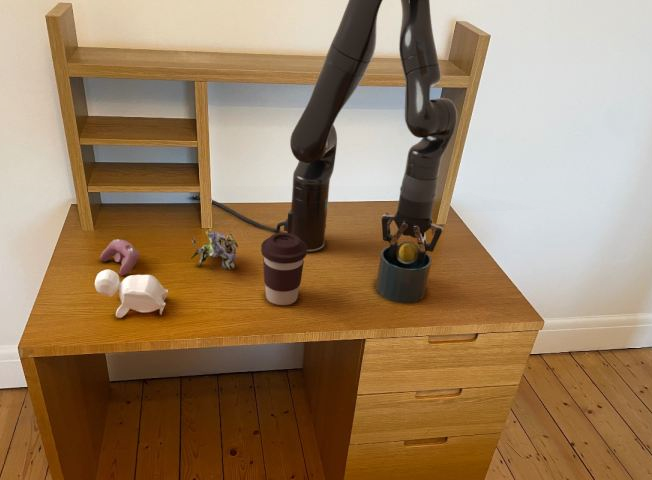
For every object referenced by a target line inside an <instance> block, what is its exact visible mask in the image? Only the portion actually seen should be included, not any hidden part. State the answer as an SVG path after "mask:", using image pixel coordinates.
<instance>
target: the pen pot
mask: <svg viewBox="0 0 652 480" xmlns="http://www.w3.org/2000/svg"><path fill="white" fill-rule="evenodd" d="M400 244H401V243H398V245H397V247H398V246H399V245H400ZM389 249H390V245H388V246H386V247H384V248H383V249H382V251H381V252H380V256H379V262H378V267H377V268H378V269H377V275H376V282H375V288H376V291H377V293H378V294H379V295H380V296H382V297H383V298H385V299H387V300H388V301H392V302H395V303H401V304H412V303H416V302H418V301H421V300H422V299H423V298H424V296H425V293H426V289H427V286H428V280H429V276H430V271H431V266H432V257H431V255H430V254H429V253H428V251H426V253H425V258H424V261H423V263H422V264H420V265H416V263H417V261H416V262H415V263H413V264H410V265H405V264H402V263H400V262H399V261H398V259H397V257H396V256H395V258H394V260H393V259H391V256H389ZM419 250H420V249H419Z"/></svg>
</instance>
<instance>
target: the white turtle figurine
mask: <svg viewBox="0 0 652 480" xmlns="http://www.w3.org/2000/svg"><path fill="white" fill-rule="evenodd" d="M119 275H120V274H119V273H117V272H115V271H114V270H112V269H109V268H108V269H104V270H101V271H100V272H99V273H97V274H96V277H95V280H94V287H95V290H96V292H97V293H98V294H100V295H104V296H107V297H110V298H111V297H113V296H114V295H115V294H116V293H117V292H118V298H119V300H120V302H121V304H120V305H119V307H117V309H116V312H115V318H118V319H121V318H123V317H124V316H126V314H128V312H129V311H130V310H133V311H136V312H139V313H152V312H155V311H157V310H159V315H162V314H163V311H164V308H165V306H166V302H165V300H166V297H167V296H168V293H169V290H168V288H167V289H166V288H164V286H163V285H162V284H161V283H160V281H159V280H158V279H157V277H156V276H154V275H152V274H132V275H128V276H126V277H125V278H123V280H122V281H120V276H119Z"/></svg>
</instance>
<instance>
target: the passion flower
mask: <svg viewBox="0 0 652 480" xmlns="http://www.w3.org/2000/svg"><path fill="white" fill-rule="evenodd" d="M205 235H206V236H207V238H208V240H209V243H208V244H207V243H206V242H205V243H203V245H202V246H201V248H198V246H197V245H196V238H195V237H193V238H191V243H192V244H193V246H194V247H195V248H196V250H195V252H194V253H193V254H192V255H191V256H190V259H194V258H195V257H196V256H198V255H199V254H200V256H199V257H200V258H199V264H198V267H200V266H201V265H202V263H204V262H206V261H207V258H213V259H215V258H219V257H220V259H221V261H222V262H221V264H222V268H223V269H224V270H227V271H229V272H230V271H231V269H232V270H234V269H235V264H234V262H235V261H236V254H237V253H236V252H237V248H238V247H239V246H238V242H237V241H236V240H235V239H234V237H233V234H232V233H228V234H226V235H224V234H223V233H221V231H218V232H215V231H213V229H212V227H211V228H209V231H208V230H205Z"/></svg>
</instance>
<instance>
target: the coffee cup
mask: <svg viewBox="0 0 652 480" xmlns="http://www.w3.org/2000/svg"><path fill="white" fill-rule="evenodd" d="M260 245H261V247H260V251H261V255H262V256H263V259H262V263H263V266H262V267H263V282H264V289H265V297H266V300H267V301H268V302H269V303H271V304H273V305H276V306H289V305H292V304H294V303H295V302H296V301H297V299H298V296H299V290H300V286H301V282H302V276H303V270H304V265H305V263H304V262H305V261H304V260H305V258H306V257H307V254H308V252H307V246H306V244H305V243H304V242H303V241H302V240H300V239H299V238H298V237H297V236H296V235H294V234H290V233H287V232H275V233H274V234H272V235H270V236H269V237H268V238H265V239H264V240H263V241H262V243H261V244H260Z"/></svg>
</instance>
